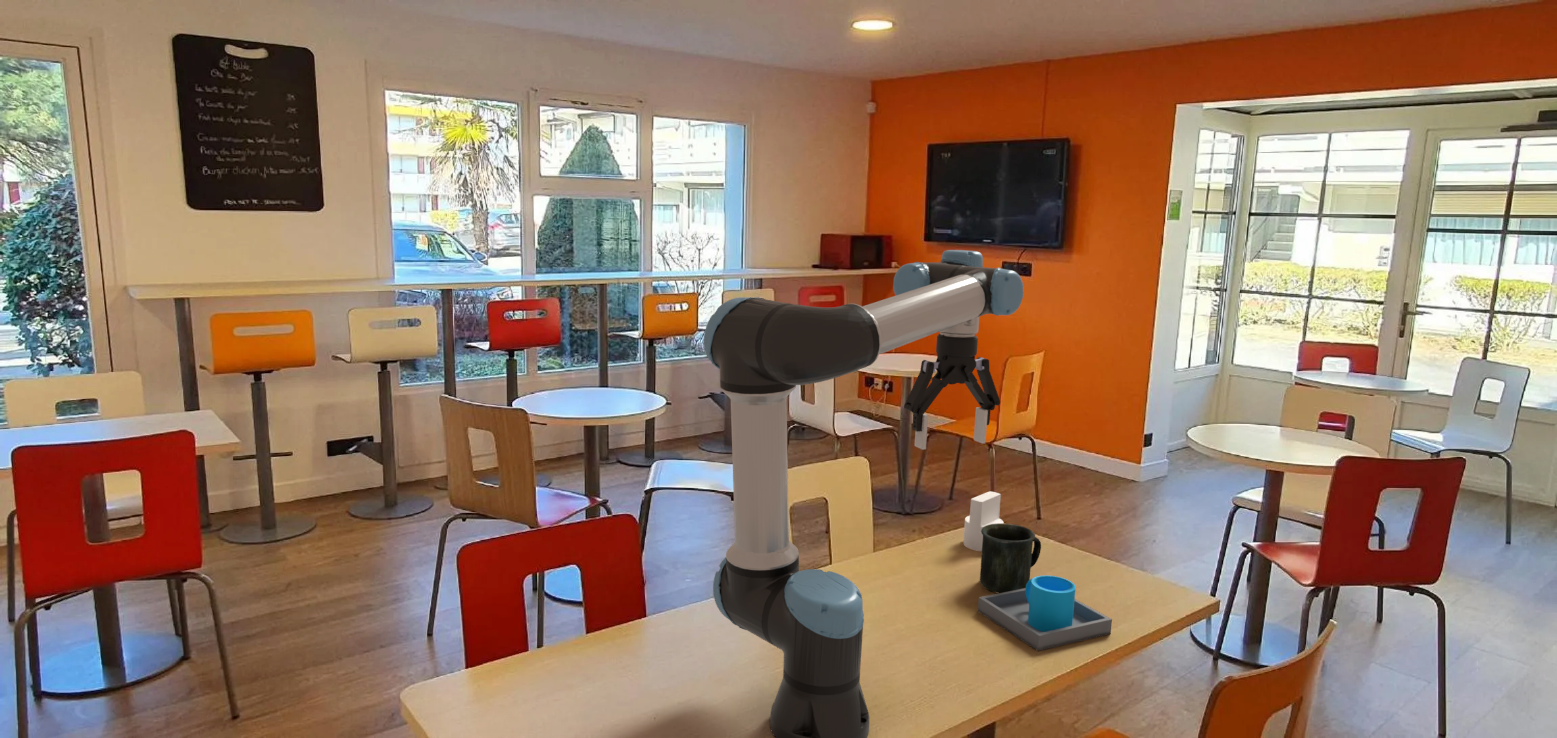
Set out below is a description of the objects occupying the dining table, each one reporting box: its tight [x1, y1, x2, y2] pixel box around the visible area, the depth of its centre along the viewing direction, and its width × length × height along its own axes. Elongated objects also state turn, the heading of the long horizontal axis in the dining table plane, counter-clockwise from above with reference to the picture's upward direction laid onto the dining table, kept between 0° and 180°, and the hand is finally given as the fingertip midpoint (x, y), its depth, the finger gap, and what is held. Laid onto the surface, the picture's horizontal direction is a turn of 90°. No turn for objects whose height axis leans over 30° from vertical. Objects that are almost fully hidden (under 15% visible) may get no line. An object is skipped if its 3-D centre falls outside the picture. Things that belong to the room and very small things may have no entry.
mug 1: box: [979, 523, 1042, 594], centre depth 195 cm, size 11×15×12 cm
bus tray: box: [977, 588, 1113, 652], centre depth 178 cm, size 18×18×3 cm
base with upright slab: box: [962, 491, 1005, 553], centre depth 217 cm, size 9×9×12 cm
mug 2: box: [1025, 574, 1077, 632], centre depth 178 cm, size 12×8×8 cm
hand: (950, 444), depth 175 cm, fingers open, 13 cm apart
